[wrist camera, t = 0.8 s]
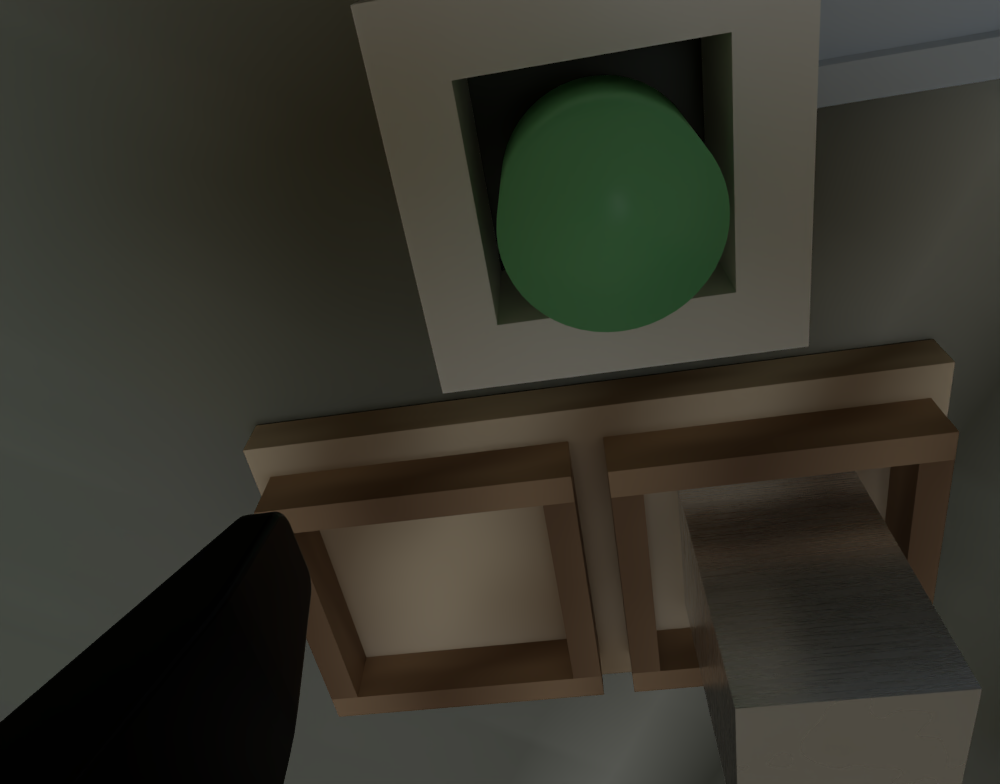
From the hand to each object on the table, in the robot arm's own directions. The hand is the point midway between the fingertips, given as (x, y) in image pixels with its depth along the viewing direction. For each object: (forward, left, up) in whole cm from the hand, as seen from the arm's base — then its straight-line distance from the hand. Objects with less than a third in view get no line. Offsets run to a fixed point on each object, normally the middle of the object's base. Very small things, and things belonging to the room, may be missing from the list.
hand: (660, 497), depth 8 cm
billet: (-4, +11, -11) cm, 16 cm away
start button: (0, 0, -10) cm, 10 cm away
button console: (0, 0, -12) cm, 12 cm away
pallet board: (+1, +11, -12) cm, 16 cm away
